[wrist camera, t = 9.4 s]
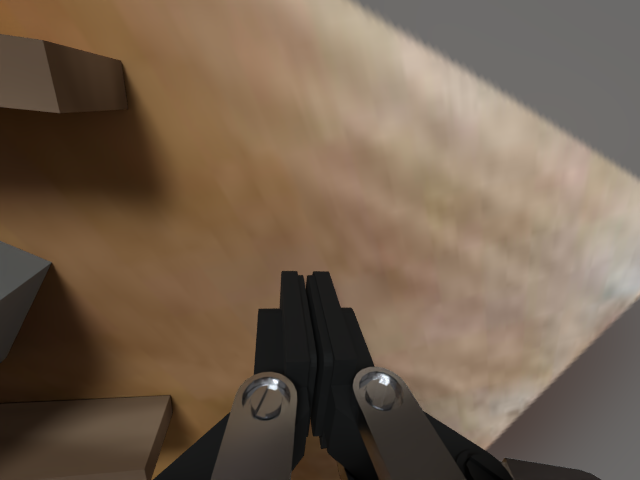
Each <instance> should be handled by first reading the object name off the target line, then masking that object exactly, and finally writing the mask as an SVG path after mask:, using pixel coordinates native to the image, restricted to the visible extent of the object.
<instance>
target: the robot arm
mask: <svg viewBox="0 0 640 480" xmlns="http://www.w3.org/2000/svg"><path fill="white" fill-rule="evenodd" d="M310 417H311V426H312V434H313V436H319V438H320V445H321V449H323V448H327V452H328V454H329V455H331V456H332V457H333V458H334V459H335V460H336V461H337V465H338V471H339V474H340V478H341V480H601V479H600V478H598V477H596V476H595V475H593V474H591V473H588V472H585V471H582V470H579V469H572V468H566V467H560V466H553V465H548V464H541V463H536V462H529V461H523V460H517V459H511V458H504V460H503V461H498V460H497V459H496V458H495V457H493V456H492V455H491V454H490V453H488V452H487V451H485V450H484V449H482V448H480V447H479V446H477V445H476V444H474V443H473V442H471V441H469V440H468V439H466V438H465V437H463V436H462V435H460V434H458V433H457V432H455V431H454V430H452V429H451V428H449V427H447V426H446V425H444V424H443V423H441V422H440V421H438V420H436V419H435V418H433V417H432V416H430V415H429V414H427V413H425V412H424V411H423V410H422V409H421V407H420V406H419V404H418V402H417V401H416V399H415V398H414V396H413V395H412V393H411V391H410V390H409V388H408V387H407V385H406V384H405V383H404V381H403V380H402V379H401V378H400V377H399V376H398V375H396V374H395V373H394V372H392V371H390V370H388V369H385V368H381V367H375V366H374V364H373V361H372V358H371V356H370V353H369V351H368V348H367V345H366V343H365V340H364V337H363V335H362V332H361V330H360V327H359V324H358V322H357V319H356V316H355V314H354V311H353V309H352V308H341V307H340V304H339V301H338V298H337V295H336V292H335V289H334V286H333V283H332V279H331V276H330V273H329V272H320V271H313V274H312V275H308V276H307V282H306V289H305V283H304V277H303V275H298V273H297V271H282V273H281V292H280V309H259V310H258V324H257V338H256V352H255V366H254V375H253V376H251V377H250V378H248V379H247V380H245V382H244V383H243V384H242V385H241V386H240V387H239V389H238V391H237V393H236V396H235V399H234V402H233V406H232V409H231V412H230V413H229V414H227V415H226V416H225V417H224V418H223V419H222V420H221V421H219V422H218V423H217V424H216V425H215V426H214V427H213V428H211V429H210V430H209V431H208V432H207V433H206V434H205V435H204V436H202V437H201V438H200V439H199V440H198V441H197V442H196V443H194V444H193V445H192V446H191V447H190V448H189V449H188V450H186V451H185V452H184V453H183V454H182V455H181V456H180V457H178V458H177V459H176V460H175V461H174V462H173V463H172V464H170V465H169V466H168V467H167V468H166V469H165V470H164V471H163V472H161V473H160V474H159V475H158V476H157V477H156V478H155V479H153V480H291V472H292V470H293V469H294V468H295V466H296V465H297V464H298V462H299V461H300V460H301V459H302V457H303V456H304V451H305V443H306V437H308V432H309V424H310Z"/></svg>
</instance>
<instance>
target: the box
mask: <svg viewBox="0 0 640 480" xmlns="http://www.w3.org/2000/svg"><path fill="white" fill-rule="evenodd" d="M0 107H5V108H15V109H25V110H34V111H44V112H54V113H71V112H89V111H106V110H123V109H128V105H127V98H126V91H125V84H124V77H123V70H122V64H121V61H120V60H116V59H112V58H108V57H105V56H101V55H97V54H93V53H90V52H86V51H82V50H78V49H74V48H71V47H67V46H63V45H59V44H55V43H52V42H48V41H44V40H38V39H31V38H24V37H17V36H10V35H2V34H0ZM172 413H173V412H172V405H171V398H170V395H168V396H148V397H128V398H108V399H88V400H68V401H48V402H28V403H8V404H0V480H151V478H152V475H153V472H154V469H155V466H156V463H157V460H158V457H159V454H160V451H161V447H162V444H163V441H164V438H165V435H166V432H167V429H168V426H169V423H170V419H171V416H172Z"/></svg>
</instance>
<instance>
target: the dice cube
mask: <svg viewBox="0 0 640 480" xmlns="http://www.w3.org/2000/svg"><path fill="white" fill-rule="evenodd" d="M51 263H52V262H50V261H47V260H45V259H42V258H40V257H38V256H35V255H33V254H30V253H28V252H25V251H23V250H21V249H18V248H16V247H13V246H11V245H9V244H6V243H4V242H1V241H0V363H1V362H2V361H3V360H4V359H5V358H6V357H7V355H8V353H9V351H10V348H11V346H12V344H13V342H14V340H15V338H16V336H17V334H18V332H19V330H20V328H21V326H22V323H23V321H24V319H25V317H26V315H27V313H28V311H29V309H30V307H31V305H32V303H33V300H34V298H35V296H36V294H37V292H38V290H39V288H40V286H41V284H42V282H43V280H44V278H45V275H46V273H47V271H48V269H49V267H50V265H51Z"/></svg>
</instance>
